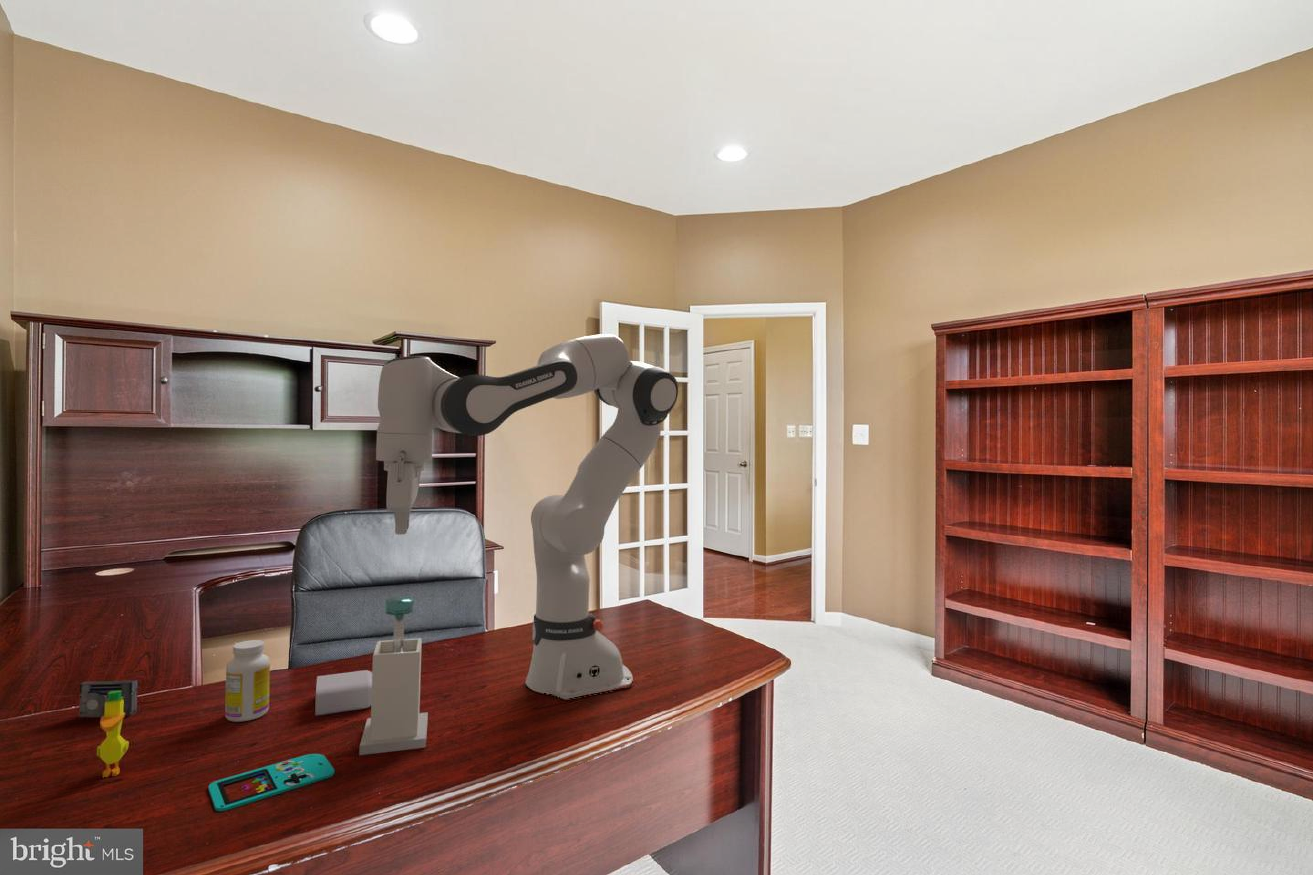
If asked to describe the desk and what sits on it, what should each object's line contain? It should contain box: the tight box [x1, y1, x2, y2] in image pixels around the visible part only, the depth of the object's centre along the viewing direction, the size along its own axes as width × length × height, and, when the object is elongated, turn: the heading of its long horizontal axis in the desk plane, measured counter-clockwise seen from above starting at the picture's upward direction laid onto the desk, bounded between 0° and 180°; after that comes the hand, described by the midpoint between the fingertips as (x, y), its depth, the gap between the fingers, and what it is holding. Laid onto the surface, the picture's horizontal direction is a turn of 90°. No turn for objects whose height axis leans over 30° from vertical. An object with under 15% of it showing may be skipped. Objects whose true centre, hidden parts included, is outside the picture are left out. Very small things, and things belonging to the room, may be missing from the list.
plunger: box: [385, 595, 415, 653], centre depth 107 cm, size 5×5×12 cm
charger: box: [314, 669, 372, 717], centre depth 121 cm, size 5×9×15 cm
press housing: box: [358, 637, 429, 756], centre depth 107 cm, size 10×10×16 cm
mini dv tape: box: [78, 680, 138, 718], centre depth 112 cm, size 8×2×6 cm, turn 99°
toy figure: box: [96, 690, 130, 779], centre depth 93 cm, size 7×4×12 cm, turn 32°
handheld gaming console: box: [208, 753, 335, 812], centre depth 93 cm, size 8×1×15 cm
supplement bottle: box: [224, 639, 271, 723], centre depth 113 cm, size 7×7×13 cm
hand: (402, 531), depth 107 cm, fingers open, 3 cm apart
